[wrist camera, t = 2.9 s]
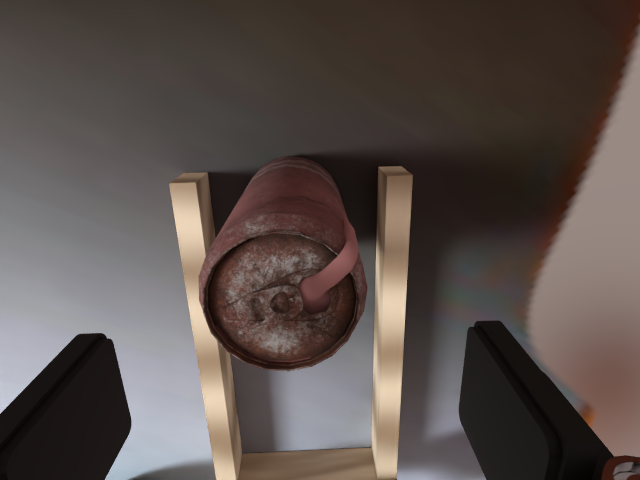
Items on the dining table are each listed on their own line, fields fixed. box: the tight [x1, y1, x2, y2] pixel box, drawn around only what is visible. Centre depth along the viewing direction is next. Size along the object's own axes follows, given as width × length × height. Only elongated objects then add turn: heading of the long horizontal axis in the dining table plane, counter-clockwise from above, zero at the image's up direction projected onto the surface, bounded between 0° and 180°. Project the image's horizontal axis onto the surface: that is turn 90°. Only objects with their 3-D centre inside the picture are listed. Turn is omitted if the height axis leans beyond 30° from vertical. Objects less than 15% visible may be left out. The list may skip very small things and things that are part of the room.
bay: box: [169, 166, 413, 480], centre depth 26 cm, size 28×16×10 cm, turn 1°
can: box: [199, 156, 367, 371], centre depth 20 cm, size 6×6×14 cm
